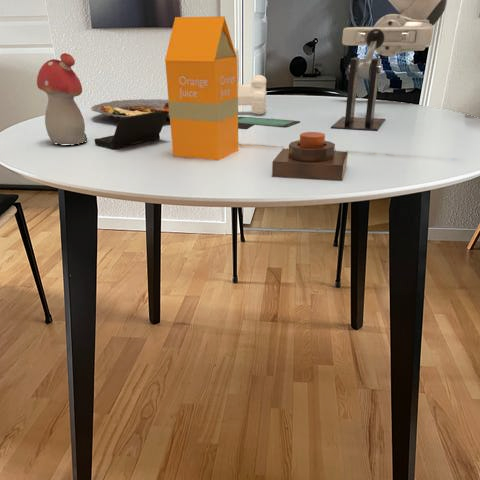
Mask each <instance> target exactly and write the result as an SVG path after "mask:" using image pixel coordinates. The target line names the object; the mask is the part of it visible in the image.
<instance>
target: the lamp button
mask: <svg viewBox="0 0 480 480" xmlns="http://www.w3.org/2000/svg"><path fill="white" fill-rule="evenodd" d="M299 140H300V145H299V146H301V147H309V148H317V147H324V145H325V141H326V133H323V132H321V131H320V132H319V131H318V132H317V131H305V132H301V133H299Z"/></svg>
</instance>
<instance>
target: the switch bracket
mask: <svg viewBox="0 0 480 480" xmlns="http://www.w3.org/2000/svg"><path fill="white" fill-rule="evenodd" d="M381 59H382V58H381V57H374V58H372V67H371V74H370V77H369V85H368V95H367V103H366V111H365V117H360V116H359V117H358V116H355V111H356V100H357V92H358V91H357V89H358V80H359V79H357V77H358V65H359V62H360V60H361V57H353V58H350V60H349V61H350V64H349V65H348V68H347V69H348V74H349V75H348V86H347V94H346V95H347V96H346V107H345V108H346V109H345V116H342V117H341V118H339V119H338V120H337V121H336V122H335V123H333V124H332V125H331V126H330V129H331V130H347V131H349V130H350V131H365V132H378V131H379V130H380V129H381V127H383V124H384V123H385V122H386V118H378V117H375V111H376V110H375V109H376V101H377V94H378V84H379V76H380V74H381V72H382V65H381Z"/></svg>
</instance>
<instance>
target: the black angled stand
mask: <svg viewBox="0 0 480 480" xmlns="http://www.w3.org/2000/svg"><path fill="white" fill-rule="evenodd" d="M167 115H168V111H167V110H165V111H159V112H153V113H147V114H141V115H135V116H129V117H119V119H118V122H117V124H116V127H115V131H114V134H112V135H109V136H103V137H98V138H94V144H98V145H97V146H100V145H102V146H101V147H104V146H107V147H106V148H108V147H110V149H113V148H116V149H119V148H118V147H120V148H124V147H123V146H125V147H129V146H128V145H130V146H132V144H133V145H135V144H141V142H143V143H147V141H148V142H152V141H153V142H154V141H157V140H160V139H161V136H160V135H161V131H162V129H163V127H164V124H165V122H166V120H167V119H168V118H167Z"/></svg>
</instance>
